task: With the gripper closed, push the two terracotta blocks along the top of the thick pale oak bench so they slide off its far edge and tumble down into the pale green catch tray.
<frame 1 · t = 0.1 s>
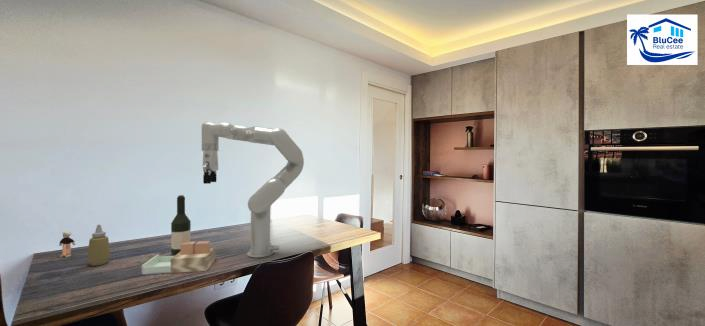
hand: (210, 182, 143), 37 cm above the table, tool pointing down, fingers open, 9 cm apart
grandmother figurine: (66, 256, 144), on the table
wine bottle: (181, 255, 146), on the table
block 1: (188, 253, 130), point 6 cm above the table, touching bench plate
catch tray: (163, 267, 128), on the table
squeeze bottle: (99, 264, 133), on the table
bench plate: (194, 266, 131), on the table
block 2: (202, 252, 131), point 6 cm above the table, touching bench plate
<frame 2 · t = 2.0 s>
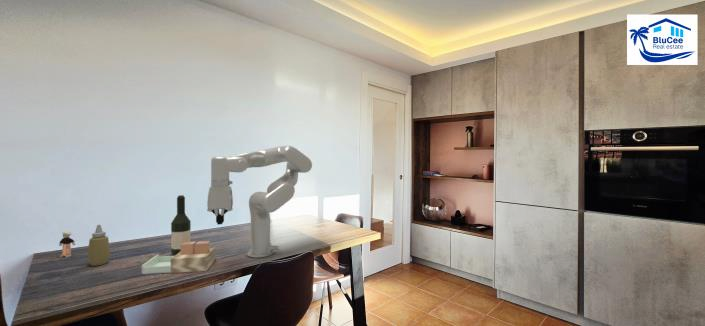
hand: (220, 223, 132), 19 cm above the table, tool pointing down, fingers closed
nothing on the table moved.
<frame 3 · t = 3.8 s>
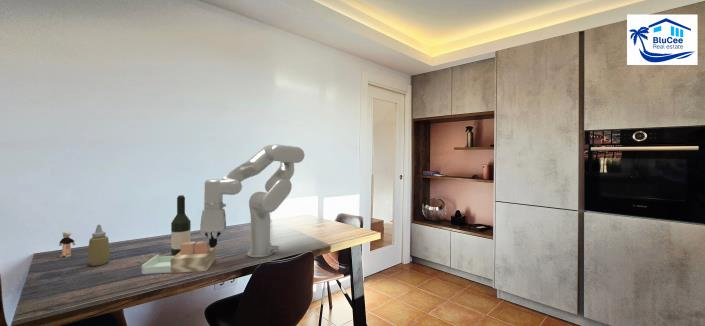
hand: (213, 246, 132), 8 cm above the table, tool pointing down, fingers closed
block 2: (202, 252, 131), point 6 cm above the table, touching gripper
everything else where it was.
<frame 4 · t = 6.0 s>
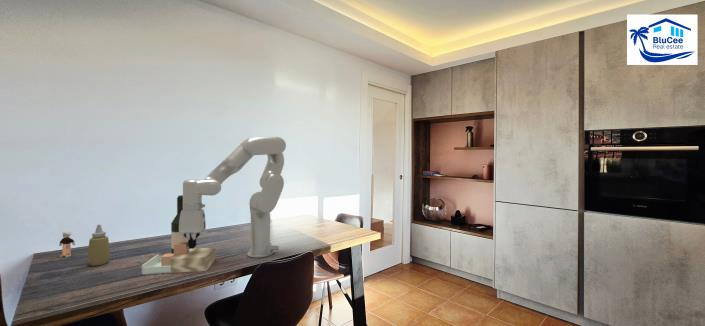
hand: (192, 247, 130), 8 cm above the table, tool pointing down, fingers closed
block 1: (174, 260, 129), point 3 cm above the table, tilted 90°, touching catch tray
block 2: (181, 253, 130), point 6 cm above the table, touching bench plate, gripper
everything else where it was.
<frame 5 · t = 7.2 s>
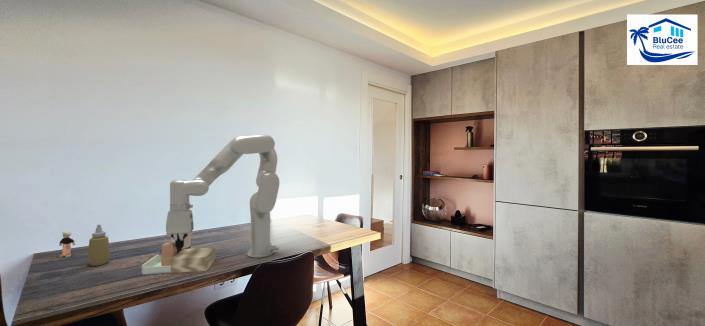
hand: (179, 248, 129), 8 cm above the table, tool pointing down, fingers closed
block 1: (174, 260, 129), point 3 cm above the table, tilted 90°, touching block 2, catch tray
block 2: (175, 249, 129), point 8 cm above the table, tilted 90°, touching block 1, gripper
everything else where it was.
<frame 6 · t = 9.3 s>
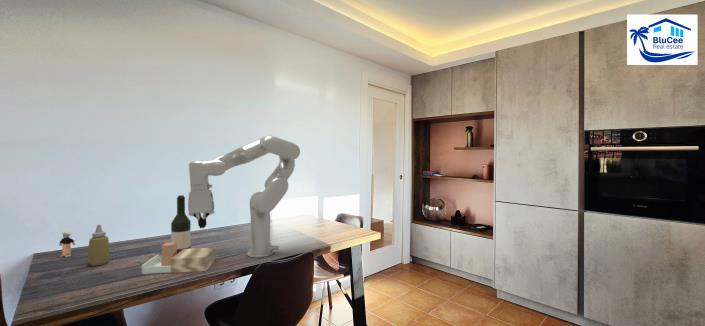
hand: (202, 227, 134), 17 cm above the table, tool pointing down, fingers closed
block 2: (175, 249, 129), point 8 cm above the table, tilted 90°, touching block 1
everything else where it was.
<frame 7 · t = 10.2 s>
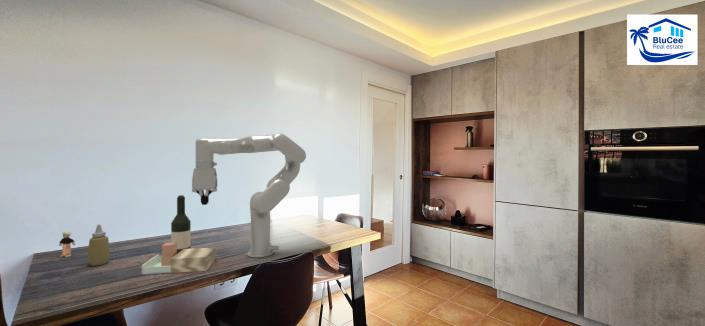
hand: (204, 204, 135), 27 cm above the table, tool pointing down, fingers closed
nothing on the table moved.
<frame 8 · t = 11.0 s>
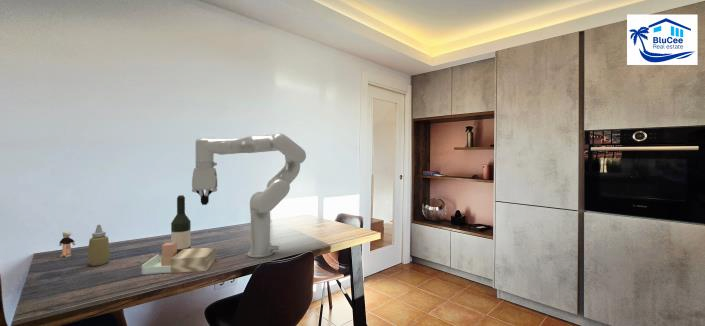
hand: (204, 204, 135), 27 cm above the table, tool pointing down, fingers closed
nothing on the table moved.
at the end: block 1 inside the target area (5.5 cm from its centre), point 3.0 cm above the table; block 2 inside the target area (5.9 cm from its centre), point 8.0 cm above the table; block 2 touching block 1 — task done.
